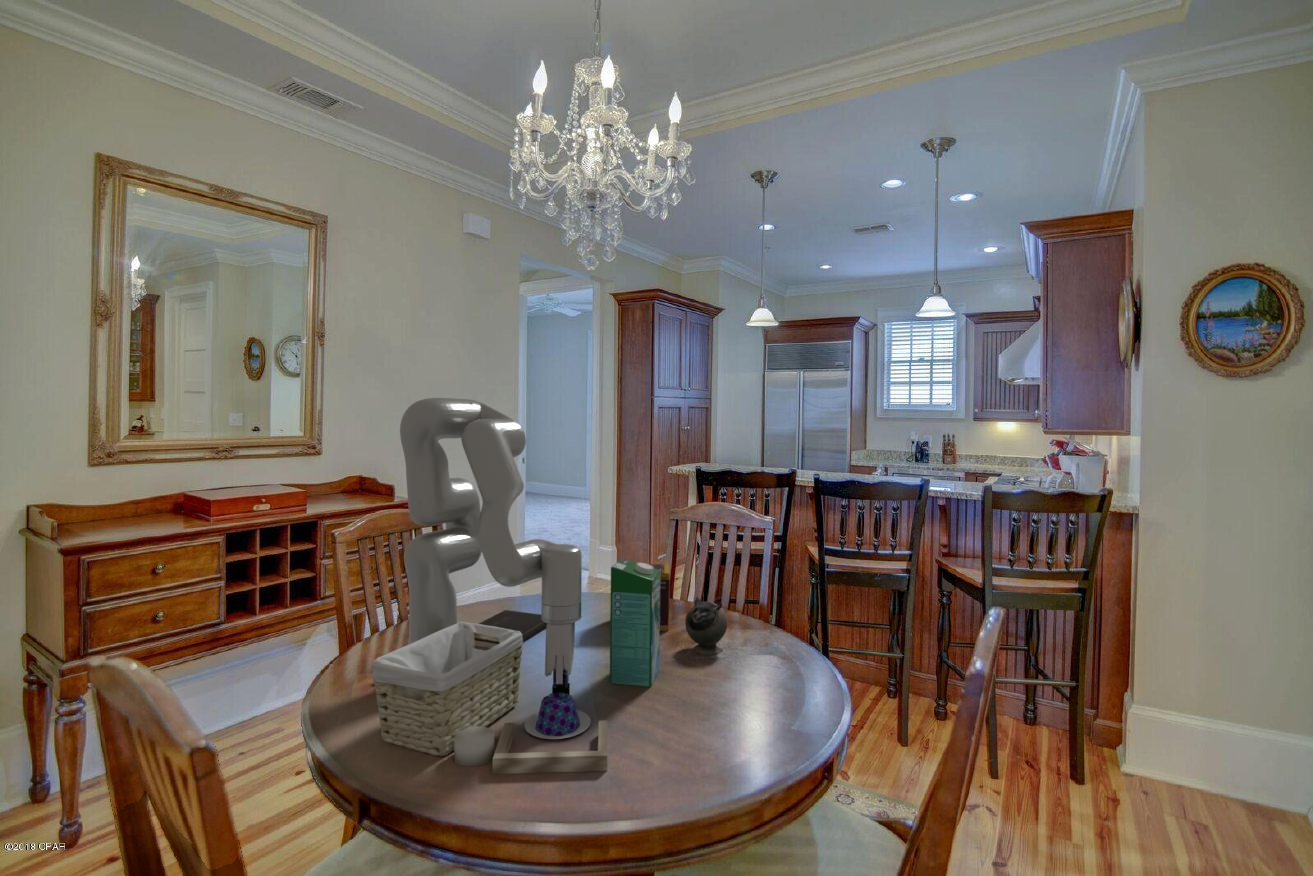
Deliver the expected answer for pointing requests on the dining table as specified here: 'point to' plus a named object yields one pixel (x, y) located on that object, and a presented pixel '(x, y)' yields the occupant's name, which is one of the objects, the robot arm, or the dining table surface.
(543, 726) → the pudding
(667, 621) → the supplement box
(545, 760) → the display stand
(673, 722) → the dining table surface
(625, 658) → the milk carton
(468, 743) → the egg
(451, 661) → the storage basket
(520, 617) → the hardcover book
